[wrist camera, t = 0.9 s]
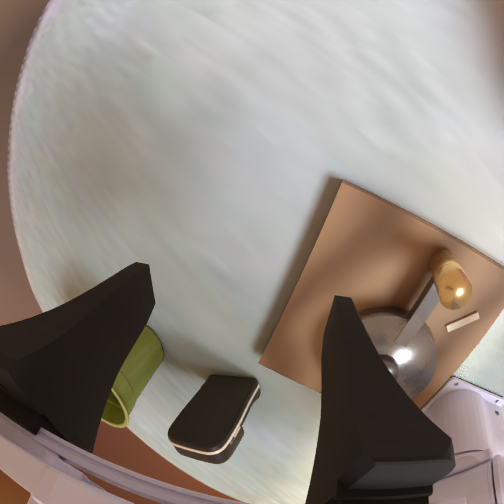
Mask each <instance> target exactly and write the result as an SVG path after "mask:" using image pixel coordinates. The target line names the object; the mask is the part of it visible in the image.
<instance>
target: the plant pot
mask: <svg viewBox="0 0 504 504" xmlns="http://www.w3.org/2000/svg"><path fill="white" fill-rule="evenodd" d="M163 357H164V352H163V351H162V347H161V342H160V340H159V339H158V337H157V336H156V335H155V333H154V332H153V331H152V330H151V329H150V328H148V327H147V326H145V328H144V329H143V331H142V333H141V334H140V336H139V338H138V339H137V341H136V343H135V344H134V346H133V348H132V350H131V351H130V353H129V355H128V356H127V358H126V360H125V361H124V363H123V365H122V367H121V369H120V371H119V373H118V375H117V377H116V380H115V382H114V385H113V387H112V389H111V392H110V395H109V397H108V400H107V403H106V405H105V408H104V411H103V415H102V418H101V420H102V421H104V422H106V423H107V424H109V425H111V426H114V427H119V428H122V427H126V426H127V425H128V423H129V414H130V413H131V411H132V409H133V408H134V406H135V402H136V400H137V399H138V397H139V396H140V394H141V392H142V391H143V389H144V388H145V386H146V385H147V383H148V382H149V380H150V379H151V377H152V375H153V374H154V372H155V371H156V369H157V368H158V366H159V365H160V363H161V362H162V360H163Z"/></svg>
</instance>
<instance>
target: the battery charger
mask: <svg viewBox="0 0 504 504" xmlns="http://www.w3.org/2000/svg"><path fill="white" fill-rule="evenodd" d="M259 387H260V385H259V383H258V381H257V380H256V379H248V378H239V377H229V376H216V375H210V376H209V377H208V379H207V380H206V381H205V383H204V384H203V385H202V387H201V388H200V390H199V391H198V392H197V393H196V394H195V396H194V397H193V398H192V399H191V400H190V402H189V403H188V404H187V405H186V406H185V408H184V409H183V410H182V411H181V413H180V414H179V415H178V417H177V418H176V419H175V421H174V422H173V423H172V425H171V426H170V428H169V430H168V439H169V441H170V442H171V444H173V446H174V447H175V449H176V450H177V451H178V452H179V453H180V454H181V455H184V456H187V457H190V458H193V459H196V460H200V461H204V462H208V463H213V464H221V463H224V462H226V461H227V460H228V459H229V458H230V457H231V456H232V454H233V452H234V451H235V449H236V448H237V446H238V444H239V443H240V441H241V439H242V437H243V435H244V430H243V427H242V425H243V423H244V421H245V419H246V417H247V415H248V412H249V410H250V408H251V406H252V404H253V403H254V402H255V400H257V399H258V398H259V396H260V388H259Z"/></svg>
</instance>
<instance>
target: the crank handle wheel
mask: <svg viewBox="0 0 504 504" xmlns="http://www.w3.org/2000/svg"><path fill="white" fill-rule="evenodd" d="M429 268H430V271H431V274H432V277H431V278H430V280H429V282H428V283H427V285H426V286H425V288H424V290H423V291H422V293H421V294H420V296H419V298H418V299H417V301H416V302H415V304H414V305H413V307H412V308H411V310H410V311H407V310H404V309H400V308H394V307H376V308H371V309H367V310H364V311H361V312H359V313H358V314H359V316H360V318H361V320H362V322H363V324H364V326H365V328H366V331H367V332H368V334H369V336H370V338H371V340H372V342H373V344H374V346H375V348H376V349H377V351H378V353H379V355H380V356H381V358H382V360H383V361H384V363H385V365H386V366H387V368H388V369H389V371H390V372H391V374H392V375H393V377H394V378H395V379H396V381H397V382H398V383H399V385H400V386H401V387H402V389H403V390H404V391H405V392H406V394H407V395H408V396H409V397H410V398H413V397H414V396H416V395H417V394H419V393H420V392H421V391H422V390H423V389H424V388H425V387H426V386H427V385H428V384H429V383H430V381H431V379H432V378H433V376H434V373H435V371H436V367H437V353H436V347H435V341H434V337H433V334H432V332H431V330H430V328H429V327H428V325H427V324H426V323H425V321H426V319H427V318H428V317H429V315H430V314H431V312H432V311H433V309H434V308H435V306H436V305H437V303H438V302H439V300H440V302H441V304H442V305H443V306H444V307H445V308H447V309H450V310H457V309H460V308H462V307H464V306H465V305H466V304H467V303H468V302H469V301H470V299H471V296H472V285H471V283H470V281H469V279H468V277H467V276H466V274H465V272H464V270H463V268H462V267H461V265H460V263H459V261H458V260H457V258H456V256H455V255H454V253H453V252H451V251H450V250H446V249H443V250H439V251H437V252H436V253H434V254H433V255H432V257H431V259H430V262H429Z"/></svg>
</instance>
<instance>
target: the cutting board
mask: <svg viewBox="0 0 504 504" xmlns="http://www.w3.org/2000/svg"><path fill="white" fill-rule="evenodd" d="M443 249H446V250H450V251H451V252H453V253H454V255H455V256H456V258H457V260H458V261H459V263H460V265H461V267H462V268H463V270H464V272H465V274H466V276H467V277H468V279H469V281H470V283H471V285H472V296H471V299H470V301H469V302H468V303H467V304H466V305H465V306H464V307H462V308H460V309H457V310H450V309H447V308H445V307H444V306H443V305H442V304H441V302H440V300H439V302H438V303H437V305H436V306H435V308H434V309H433V311H432V312H431V314H430V315H429V317H428V318H427V319H426V321H425V323H426V324H427V325H428V327H429V328H430V330H431V332H432V334H433V337H434V341H435V347H436V353H437V367H436V371H435V373H434V376H433V378H432V379H431V381H430V383H429V384H428V385H427V386H426V387H425V388H424V389H423V390H422V391H421V392H420V393H419V394H417V395H416V396H414V397H413V398H411V399H412V401H413V402H414V403H415V404H416V405H417V406H418V407H419V409H420V408H421V407H422V406H423V405H424V404H425V403H426V402H427V401H428V400H429V399H430V398H431V397H432V396H433V395H434V394H435V393H436V392H437V391H438V390H439V389H440V388H441V387H442V385H443V384H444V383H445V382H446V381H447V380H448V379H449V378H450V377H451V376H452V374H453V373H454V372H455V371H456V370H457V369H458V368H459V366H460V365H461V364H462V363H463V362H464V360H465V359H466V358H467V357H468V356H469V354H470V353H471V352H472V351H473V349H474V348H475V347H476V346H477V344H478V343H479V342H480V340H481V339H482V338H483V337H484V335H485V334H486V333H487V331H488V330H489V328H490V327H491V326H492V324H493V323H494V322H495V320H496V319H497V317H498V316H499V314H500V313H501V312H502V310H503V309H504V267H503V266H501V265H500V264H498V263H497V262H495V261H493V260H492V259H490V258H489V257H487V256H485V255H484V254H482V253H481V252H479V251H477V250H476V249H474V248H472V247H471V246H469V245H467V244H466V243H464V242H462V241H461V240H459V239H457V238H456V237H454V236H452V235H450V234H449V233H447V232H445V231H443V230H442V229H440V228H438V227H436V226H434V225H433V224H431V223H429V222H427V221H425V220H423V219H421V218H420V217H418V216H416V215H414V214H412V213H410V212H408V211H406V210H404V209H402V208H401V207H399V206H397V205H395V204H393V203H391V202H389V201H387V200H385V199H383V198H381V197H379V196H377V195H375V194H372V193H370V192H368V191H366V190H364V189H362V188H360V187H358V186H356V185H353V184H351V183H349V182H347V181H345V180H343V182H342V183H341V186H340V188H339V190H338V193H337V195H336V198H335V200H334V202H333V205H332V207H331V209H330V212H329V214H328V216H327V219H326V221H325V223H324V225H323V228H322V230H321V232H320V234H319V237H318V239H317V241H316V243H315V246H314V248H313V250H312V252H311V255H310V257H309V259H308V261H307V263H306V266H305V268H304V270H303V272H302V274H301V276H300V278H299V281H298V283H297V285H296V287H295V289H294V291H293V293H292V296H291V298H290V300H289V302H288V304H287V306H286V308H285V310H284V312H283V314H282V316H281V318H280V320H279V322H278V325H277V327H276V329H275V331H274V333H273V335H272V337H271V339H270V341H269V343H268V345H267V347H266V349H265V351H264V353H263V355H262V357H261V359H260V361H259V362H258V363H259V364H261V365H263V366H265V367H267V368H269V369H271V370H273V371H275V372H277V373H279V374H281V375H283V376H285V377H287V378H289V379H292V380H294V381H296V382H298V383H300V384H302V385H304V386H306V387H309V388H311V389H313V390H315V391H317V392H320V393H321V355H322V344H323V334H324V331H325V327H326V324H327V321H328V317H329V314H330V310H331V307H332V303H333V300H334V296H335V295H337V296H344V297H351V298H352V300H353V302H354V304H355V307H356V309H357V311H358V313H359V312H361V311H364V310H367V309H371V308H376V307H394V308H400V309H404V310H407V311H410V310H411V308H412V307H413V305H414V304H415V302H416V301H417V299H418V298H419V296H420V294H421V293H422V291H423V290H424V288H425V286H426V285H427V283H428V282H429V280H430V278H431V277H432V274H431V271H430V268H429V262H430V259H431V257H432V255H433V254H434V253H436V252H437V251H439V250H443Z"/></svg>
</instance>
